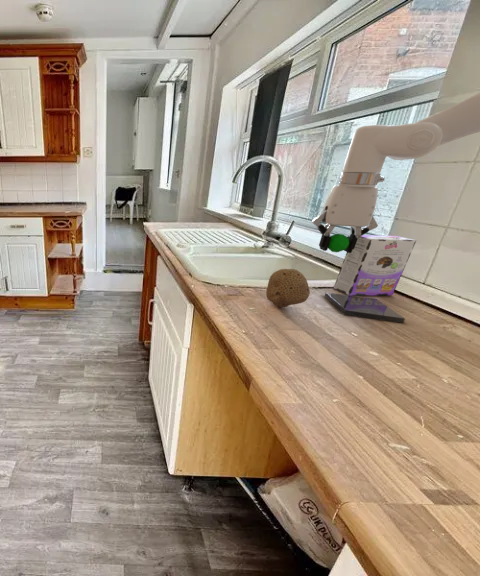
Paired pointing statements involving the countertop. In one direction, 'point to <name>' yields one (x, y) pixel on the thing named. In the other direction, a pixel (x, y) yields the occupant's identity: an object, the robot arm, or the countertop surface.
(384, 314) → the board
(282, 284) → the natural sponge
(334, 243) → the polyhedron
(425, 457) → the countertop surface
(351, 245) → the robot arm
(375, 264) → the candy box
